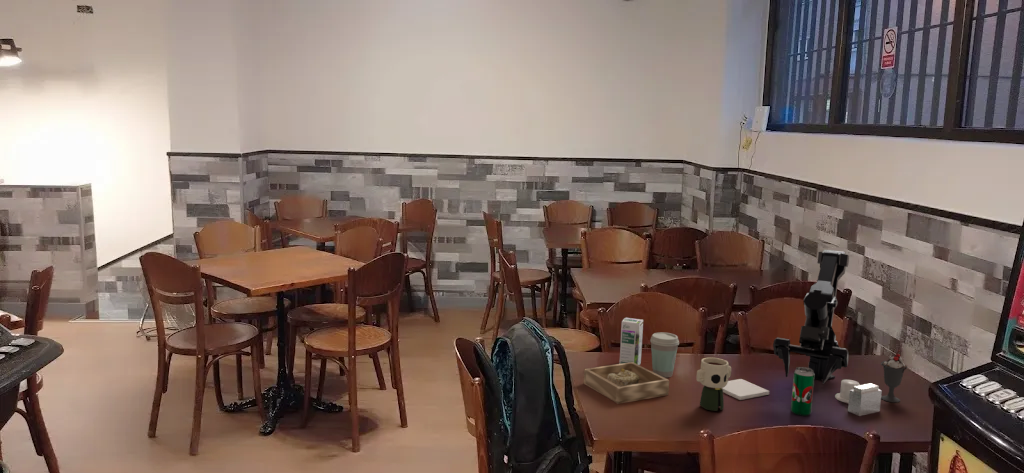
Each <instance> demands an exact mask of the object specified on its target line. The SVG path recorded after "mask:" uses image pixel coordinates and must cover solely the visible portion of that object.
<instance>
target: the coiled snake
mask: <svg viewBox="0 0 1024 473" xmlns="http://www.w3.org/2000/svg"><path fill="white" fill-rule="evenodd" d="M607 380H608V381H610V382H612V383H614V384H616V385H617V386H619V387H621V386H627V385H633V384H639V382H638V381H639V376H638V375H637V374H636V373H634V372H631V371H628V370H624V369H622V370H621V373H619V374H615V373H614V374H613V373H612V374H608V377H607Z"/></svg>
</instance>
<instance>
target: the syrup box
mask: <svg viewBox="0 0 1024 473" xmlns="http://www.w3.org/2000/svg"><path fill="white" fill-rule="evenodd" d="M643 331H644V319H640V318H632V317H624V318H623V319H622V320H621V329H620V351H619V361H618V362H619V363H618V364H622V363H629V362H634V363H636V364H638V365H640V366H641V362H642V351H643V350H642V348H643Z"/></svg>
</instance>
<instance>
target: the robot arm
mask: <svg viewBox="0 0 1024 473" xmlns="http://www.w3.org/2000/svg"><path fill="white" fill-rule="evenodd" d="M849 262H850V255H849V254H846V251H841V250H833V249H823V251H818V254H817V262H816V264H817V265H819V273H818V276H817V280H816V282H815V283H814V284H813V285H811V286H810V289H809V292H807V293H806V295H805V296H804V298H803V306H804V315H805V321H804V325H801V328H800V333H799V339H798V340H799V341H798V342H799V345H795V344H791V339H788V338H783V337H778V336H777V337H776V338H774V340H773V344H772V347H773V354H774V355H775V356H777V357H778V359H780V360H782V362H783V365H784V372H785V374H784V375H785V377H786V378H788V376H789V374H790V362H791V353H795V354H802V355H805V357H809V360H808V366H807V368H810V369H812V370H813V373H814V374H815V377H814V379H817V380H818V381H821V382H822V385H823V384H824V385H825V383H826V382H827V381H828V380H830V379H835V378H836V375H834V374H833V373H835V372H836V370H841V369H842V368H847V367H848V365H849V350H848V348H845V347H840V345H839V343H838V340H836V339H837V336H836V333H835V331H834V329H833V321H834V315H835V309H836V308H837V306H838V303H839V302H838V299H837V292H838V291H837V290H838V285H839V281H840V279H841V278H842V277H843V276H844V275H845V273H846V269H847V268H848V266H849Z"/></svg>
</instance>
